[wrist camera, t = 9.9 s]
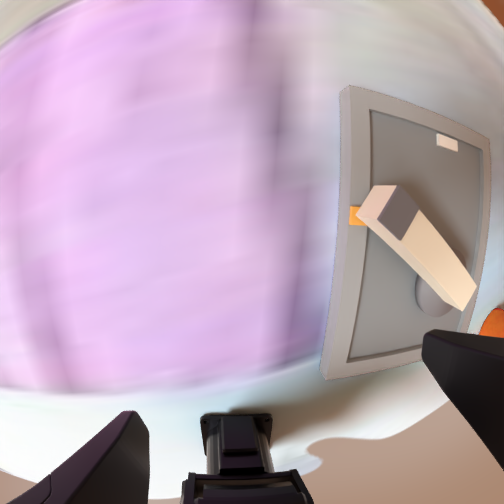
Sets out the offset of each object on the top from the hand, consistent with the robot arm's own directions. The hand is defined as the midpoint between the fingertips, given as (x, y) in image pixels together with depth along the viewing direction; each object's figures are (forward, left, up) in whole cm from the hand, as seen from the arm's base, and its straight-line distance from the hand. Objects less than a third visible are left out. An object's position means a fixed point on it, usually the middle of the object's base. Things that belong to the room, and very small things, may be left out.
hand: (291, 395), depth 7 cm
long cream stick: (+2, -13, -11) cm, 17 cm away
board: (+2, -15, -12) cm, 19 cm away
